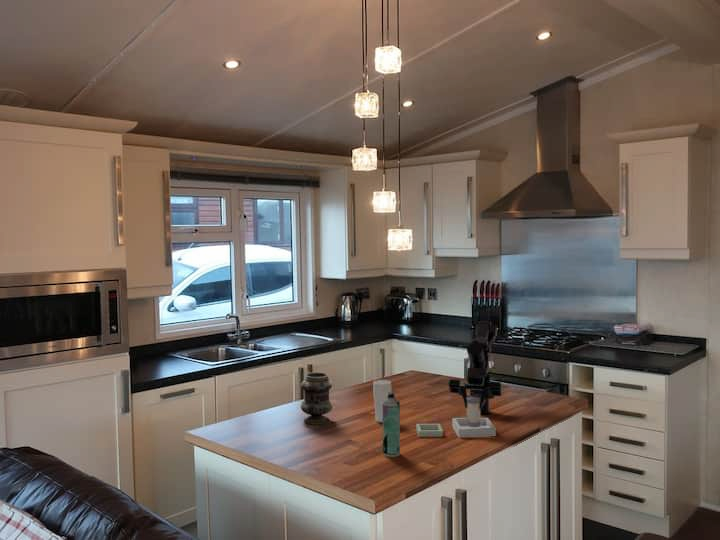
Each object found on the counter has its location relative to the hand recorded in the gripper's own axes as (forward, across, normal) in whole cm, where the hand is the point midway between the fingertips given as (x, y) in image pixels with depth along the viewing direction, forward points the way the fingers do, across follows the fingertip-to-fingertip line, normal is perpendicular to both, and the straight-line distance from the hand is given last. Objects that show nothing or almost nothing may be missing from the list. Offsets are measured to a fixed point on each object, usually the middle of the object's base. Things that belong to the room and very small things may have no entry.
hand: (473, 407), depth 222 cm
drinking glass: (+3, -35, +10) cm, 36 cm away
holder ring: (+10, -15, +3) cm, 18 cm away
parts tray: (+5, 0, +7) cm, 9 cm away
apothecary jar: (+8, -59, +5) cm, 60 cm away
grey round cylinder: (+4, 0, +6) cm, 7 cm away
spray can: (+27, -23, -14) cm, 38 cm away
